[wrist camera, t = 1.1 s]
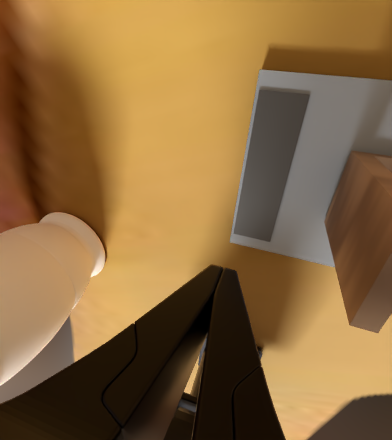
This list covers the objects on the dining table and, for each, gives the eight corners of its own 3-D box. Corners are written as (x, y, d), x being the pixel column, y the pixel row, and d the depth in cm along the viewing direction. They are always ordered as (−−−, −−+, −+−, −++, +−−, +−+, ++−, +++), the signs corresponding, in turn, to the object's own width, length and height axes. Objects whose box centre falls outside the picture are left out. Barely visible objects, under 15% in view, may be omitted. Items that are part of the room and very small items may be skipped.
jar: (73, 186, 24) (-151, 299, 12) (133, 269, 27) (3, 430, 15) (18, 221, 29) (-181, 326, 17) (74, 288, 32) (-61, 421, 20)
